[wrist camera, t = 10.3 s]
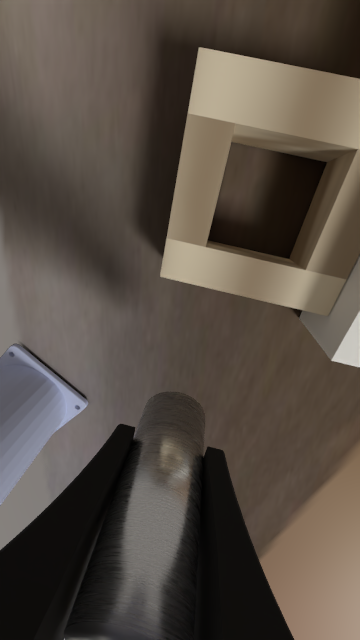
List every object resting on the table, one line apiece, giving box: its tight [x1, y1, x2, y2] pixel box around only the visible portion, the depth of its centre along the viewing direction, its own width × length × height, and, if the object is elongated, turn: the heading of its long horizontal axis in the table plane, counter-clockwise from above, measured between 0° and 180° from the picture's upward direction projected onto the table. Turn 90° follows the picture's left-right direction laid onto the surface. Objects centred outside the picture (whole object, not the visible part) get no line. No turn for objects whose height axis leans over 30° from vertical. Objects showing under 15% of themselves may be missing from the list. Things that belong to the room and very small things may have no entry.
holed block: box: [160, 47, 360, 316], centre depth 12 cm, size 9×9×3 cm
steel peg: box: [63, 392, 205, 640], centre depth 9 cm, size 3×3×7 cm
